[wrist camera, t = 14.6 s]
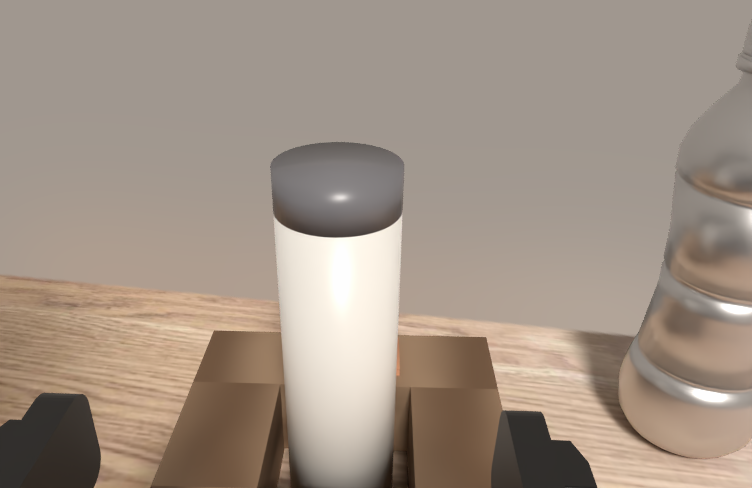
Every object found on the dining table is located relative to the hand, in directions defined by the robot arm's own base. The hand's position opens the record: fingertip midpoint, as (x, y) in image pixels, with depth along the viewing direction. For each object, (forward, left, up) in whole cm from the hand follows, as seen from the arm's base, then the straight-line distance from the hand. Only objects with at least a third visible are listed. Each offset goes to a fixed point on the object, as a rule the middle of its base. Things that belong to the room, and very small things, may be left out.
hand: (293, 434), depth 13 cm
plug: (0, +11, -14) cm, 18 cm away
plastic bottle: (+17, +16, -15) cm, 28 cm away
